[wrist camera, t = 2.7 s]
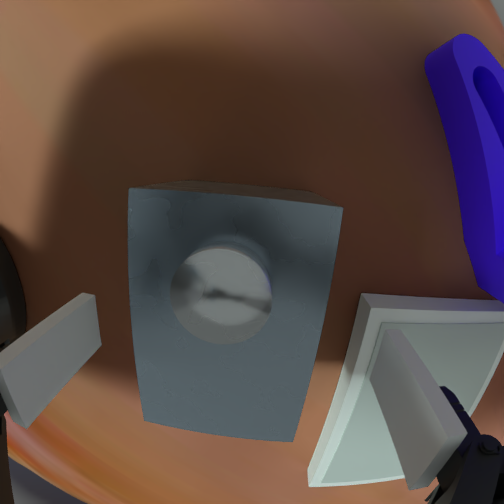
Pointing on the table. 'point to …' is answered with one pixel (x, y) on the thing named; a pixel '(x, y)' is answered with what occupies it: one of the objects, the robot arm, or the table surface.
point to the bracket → (474, 148)
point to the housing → (228, 303)
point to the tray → (434, 358)
